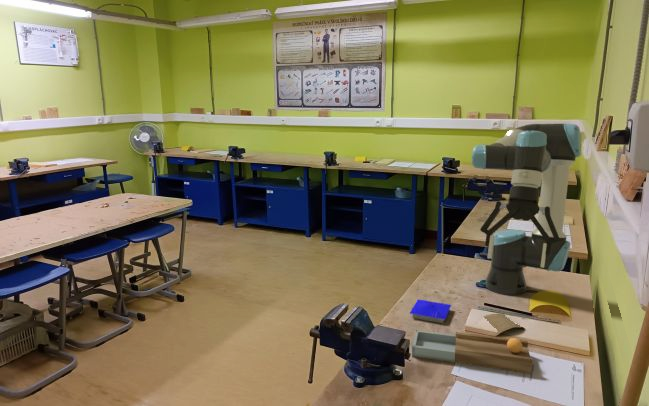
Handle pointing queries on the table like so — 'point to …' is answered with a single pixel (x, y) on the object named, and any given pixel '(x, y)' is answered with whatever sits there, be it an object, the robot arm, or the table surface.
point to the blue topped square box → (430, 311)
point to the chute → (491, 353)
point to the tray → (434, 346)
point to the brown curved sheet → (500, 322)
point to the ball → (514, 345)
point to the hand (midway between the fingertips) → (515, 262)
